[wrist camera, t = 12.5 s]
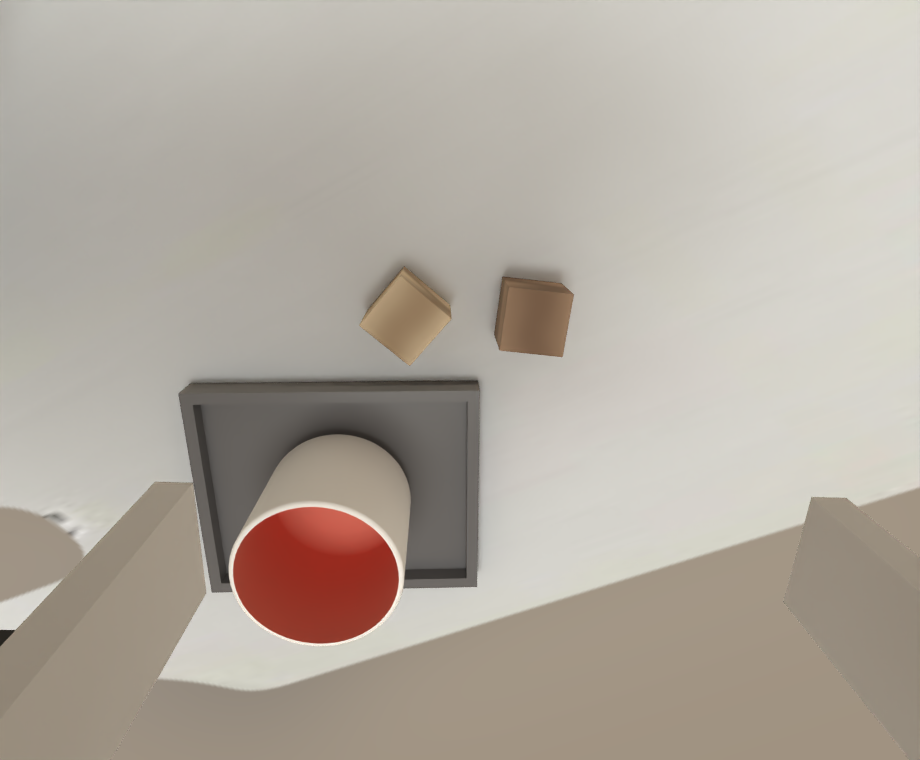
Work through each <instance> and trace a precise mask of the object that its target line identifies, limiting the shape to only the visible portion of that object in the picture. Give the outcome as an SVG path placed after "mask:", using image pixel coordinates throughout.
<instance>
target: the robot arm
mask: <svg viewBox="0 0 920 760" xmlns="http://www.w3.org/2000/svg"><path fill="white" fill-rule="evenodd" d="M205 594H206V587H205V578H204V570H203V562H202V554H201V545H200V537H199V529H198V521H197V512H196V504H195V496H194V488H193V483H179V482H155V483H154V484H153V485H152V486H151V487H150V488H149V489H148V490H147V491H146V492H145V493H144V494H143V495H142V497H141V498H140V499H139V500H138V501H137V502H136V503H135V504H134V505H133V506H132V507H131V508H130V509H129V510H128V511H127V512H126V514H125V515H124V516H123V517H122V518H121V519H120V520H119V521H118V522H117V523H116V524H115V525H114V526H113V527H112V528H111V529H110V531H109V532H108V533H107V534H106V535H105V536H104V537H103V538H102V539H101V540H100V541H99V542H98V543H97V544H96V545H95V546H94V548H93V549H92V550H91V551H90V552H89V553H88V554H87V555H86V556H85V557H84V558H83V559H82V560H81V561H80V562H79V564H78V565H77V566H76V567H75V568H74V569H73V570H72V571H71V572H70V573H69V574H68V575H67V576H66V577H65V578H64V579H63V580H62V581H61V583H60V584H59V585H58V586H57V587H56V588H55V589H54V590H53V591H52V592H51V593H50V594H49V595H48V596H47V597H46V598H45V600H44V601H43V602H42V603H41V604H40V605H39V606H38V607H37V608H36V609H35V610H34V611H33V612H32V613H31V614H30V615H29V617H28V618H27V619H26V620H25V621H24V622H23V623H22V624H21V625H20V626H19V627H18V628H17V629H16V630H0V760H111V759H112V758H113V756H114V754H115V752H116V751H117V749H118V747H119V745H120V743H121V742H122V740H123V738H124V736H125V735H126V733H127V731H128V729H129V728H130V726H131V724H132V722H133V721H134V719H135V717H136V715H137V714H138V712H139V710H140V708H141V707H142V705H143V703H144V701H145V700H146V698H147V696H148V694H149V692H150V691H151V689H152V687H153V685H154V684H155V682H156V680H157V679H158V677H159V675H160V673H161V671H162V670H163V668H164V666H165V664H166V663H167V661H168V659H169V657H170V656H171V654H172V652H173V650H174V649H175V647H176V645H177V643H178V642H179V640H180V638H181V636H182V635H183V633H184V631H185V629H186V628H187V626H188V624H189V622H190V620H191V619H192V617H193V615H194V613H195V612H196V610H197V608H198V606H199V605H200V603H201V601H202V599H203V598H204V596H205ZM783 602H784V604H785V605H786V606H787V607H788V609H789V610H790V611H791V612H792V613H793V615H794V616H795V617H796V619H797V620H798V621H799V622H800V624H801V625H802V626H803V627H804V629H805V630H806V631H807V632H808V634H809V635H810V636H811V637H812V639H813V640H814V641H815V642H816V644H817V645H818V646H819V648H821V650H822V651H823V652H824V654H825V655H826V656H827V657H828V659H829V660H830V661H831V663H832V664H833V665H834V666H835V668H836V669H837V670H838V671H839V672H840V674H841V675H842V676H843V678H844V679H845V680H846V681H847V683H848V684H849V685H850V686H851V688H852V689H853V690H854V691H855V692H856V694H857V695H858V696H859V698H860V699H861V700H862V701H863V703H864V704H865V705H866V706H867V707H868V709H869V710H870V711H871V713H872V714H873V715H874V716H875V718H876V719H877V720H878V721H879V723H880V724H881V725H882V726H883V728H884V729H885V730H886V731H887V733H888V734H889V735H890V736H891V738H892V739H893V740H894V741H895V743H896V744H897V745H898V746H899V748H900V749H901V750H902V751H903V753H904V754H905V755H906V756H907V758H908V759H909V760H920V557H919V556H918V555H917V554H916V553H914V552H913V551H912V550H911V549H909V548H908V547H907V546H906V545H904V544H903V543H902V542H900V541H899V540H898V539H897V538H896V537H894V536H893V535H892V534H891V533H889V532H888V531H887V530H885V529H884V528H883V527H882V526H880V525H879V524H878V523H877V522H875V521H874V520H873V519H872V518H870V517H869V516H868V515H867V514H866V513H864V512H863V511H862V510H860V509H859V508H858V507H857V506H856V505H854V504H853V503H852V502H851V501H849V500H848V499H847V498H827V497H811V501H810V505H809V508H808V512H807V516H806V519H805V523H804V527H803V530H802V534H801V538H800V542H799V545H798V549H797V553H796V556H795V560H794V564H793V567H792V572H791V575H790V579H789V582H788V586H787V590H786V593H785V597H784V601H783Z"/></svg>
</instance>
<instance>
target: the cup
mask: <svg viewBox="0 0 920 760" xmlns="http://www.w3.org/2000/svg"><path fill="white" fill-rule="evenodd" d="M410 506H411V495H410V489H409V484H408V481H407V478H406V476H405V474H404V472H403V470H402V468H401V467H400V465H399V464H398V463H397V461H396V460H395V459H394V458H393V457H392V456H391V455H390V454H389V453H388V452H387V451H386V450H384V449H383V448H381V447H380V446H378V445H377V444H375V443H373V442H371V441H369V440H366V439H363V438H360V437H356V436H351V435H343V434H332V435H324V436H319V437H316V438H313V439H310V440H307V441H305V442H303V443H301V444H300V445H298V446H297V447H295V448H294V449H293V450H291V451H290V452H289V453H288V454H287V455H286V456H285V457H284V458H283V459H282V460H281V461H280V463H279V464H278V466H277V467H276V469H275V471H274V472H273V474H272V476H271V478H270V480H269V481H268V483H267V485H266V487H265V489H264V490H263V492H262V494H261V496H260V498H259V499H258V501H257V503H256V505H255V507H254V509H253V510H252V512H251V514H250V516H249V518H248V519H247V521H246V523H245V525H244V527H243V528H242V530H241V532H240V534H239V536H238V537H237V539H236V541H235V543H234V545H233V548H232V551H231V554H230V559H229V580H230V585H231V588H232V591H233V594H234V596H235V598H236V600H237V602H238V603H239V605H240V607H241V608H242V609H243V611H244V612H245V613H246V614H247V615H248V616H249V617H250V619H251V620H252V621H254V622H255V623H256V624H257V625H258V626H260V627H261V628H263V629H264V630H266V631H267V632H269V633H271V634H273V635H275V636H277V637H279V638H281V639H284V640H287V641H290V642H293V643H298V644H303V645H310V646H332V645H339V644H344V643H348V642H351V641H354V640H357V639H359V638H361V637H364V636H366V635H367V634H369V633H371V632H372V631H374V630H375V629H377V628H378V627H379V626H380V625H382V624H383V623H384V622H385V621H386V620H387V619H388V618H389V617H390V615H391V614H392V612H393V611H394V610H395V608H396V606H397V604H398V602H399V600H400V597H401V595H402V591H403V586H404V576H405V565H406V553H407V542H408V530H409V518H410Z"/></svg>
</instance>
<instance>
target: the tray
mask: <svg viewBox="0 0 920 760" xmlns="http://www.w3.org/2000/svg"><path fill="white" fill-rule="evenodd" d="M179 400H180V406H181V412H182V418H183V424H184V430H185V436H186V442H187V448H188V453H189V459H190V465H191V471H192V477H193V483H194V489H195V495H196V501H197V507H198V513H199V519H200V525H201V531H202V537H203V543H204V548H205V554H206V560H207V566H208V572H209V578H210V584H211V590H212V592H233V591H232V588H231V585H230V580H229V559H230V554H231V551H232V548H233V545H234V543H235V541H236V539H237V537H238V536H239V534H240V532H241V530H242V528H243V527H244V525H245V523H246V521H247V519H248V518H249V516H250V514H251V512H252V510H253V509H254V507H255V505H256V503H257V501H258V499H259V498H260V496H261V494H262V492H263V490H264V489H265V487H266V485H267V483H268V481H269V480H270V478H271V476H272V474H273V472H274V471H275V469H276V467H277V466H278V464H279V463H280V461H281V460H282V459H283V458H284V457H285V456H286V455H287V454H288V453H289V452H290V451H291V450H293V449H294V448H295V447H297V446H298V445H300V444H301V443H303V442H305V441H307V440H310V439H313V438H316V437H319V436H324V435H332V434H343V435H351V436H356V437H360V438H363V439H366V440H369V441H371V442H373V443H375V444H377V445H378V446H380V447H381V448H383V449H384V450H386V451H387V452H388V453H389V454H390V455H391V456H392V457H393V458H394V459H395V460H396V461H397V463H398V464H399V465H400V467H401V468H402V470H403V472H404V474H405V476H406V478H407V481H408V484H409V489H410V495H411V506H410V518H409V530H408V542H407V553H406V565H405V576H404V586H403V588H446V587H477V551H478V476H479V400H480V390H479V385H478V381H395V382H295V383H194V384H189V385H188V386H187V387H186V388H185V389H183V390H182V391H181V392H180V393H179Z"/></svg>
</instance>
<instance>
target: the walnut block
mask: <svg viewBox="0 0 920 760" xmlns="http://www.w3.org/2000/svg"><path fill="white" fill-rule="evenodd" d="M573 296H574V294H573V293H572V292H571V291H569V290H568V289H567V288H566V287H565V286H564V285H563V284H561V283H554V282H545V281H537V280H528V279H519V278H510V277H502V283H501V290H500V297H499V304H498V311H497V318H496V325H495V333H494V335H495V338H496V341H497V344H498V347H499V350H501V351H510V352H519V353H529V354H538V355H548V356H557V357H563V351H564V346H565V340H566V335H567V329H568V324H569V318H570V313H571V307H572V302H573Z"/></svg>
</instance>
